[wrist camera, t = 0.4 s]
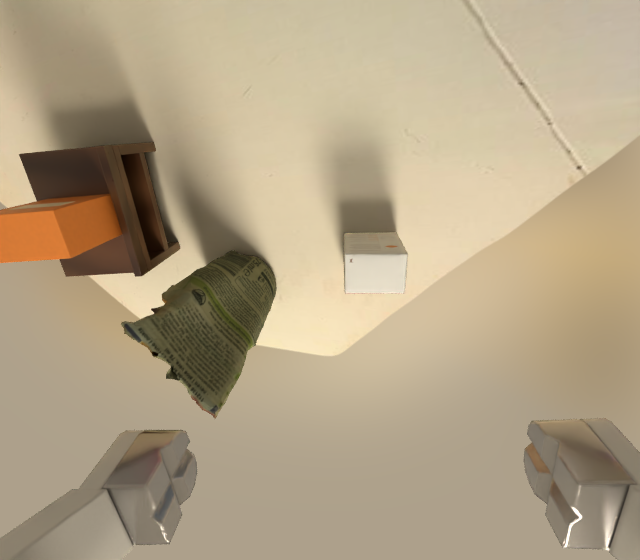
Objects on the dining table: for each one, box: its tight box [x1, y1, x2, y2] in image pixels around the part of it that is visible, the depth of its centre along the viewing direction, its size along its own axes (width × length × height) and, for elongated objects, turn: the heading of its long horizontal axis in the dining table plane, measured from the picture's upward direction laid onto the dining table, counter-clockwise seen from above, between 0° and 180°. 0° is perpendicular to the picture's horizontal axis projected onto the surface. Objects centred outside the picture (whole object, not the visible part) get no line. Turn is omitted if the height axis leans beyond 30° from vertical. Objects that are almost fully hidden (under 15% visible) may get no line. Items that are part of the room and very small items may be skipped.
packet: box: [0, 194, 122, 263], centre depth 41 cm, size 5×9×10 cm, turn 95°
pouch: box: [121, 251, 276, 418], centre depth 47 cm, size 11×12×25 cm
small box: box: [344, 232, 408, 294], centre depth 50 cm, size 8×6×10 cm
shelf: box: [19, 142, 180, 276], centre depth 50 cm, size 16×12×12 cm
